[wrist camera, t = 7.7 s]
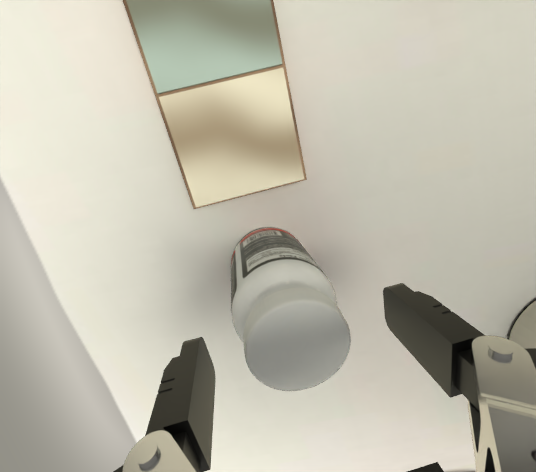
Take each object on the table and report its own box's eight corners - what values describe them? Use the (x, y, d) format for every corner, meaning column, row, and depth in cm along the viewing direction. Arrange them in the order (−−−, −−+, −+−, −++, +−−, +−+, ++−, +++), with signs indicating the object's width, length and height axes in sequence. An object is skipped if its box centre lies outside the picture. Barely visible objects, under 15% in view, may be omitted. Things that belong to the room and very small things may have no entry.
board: (303, 178, 19) (307, 179, 18) (195, 206, 19) (193, 209, 18) (218, -269, 12) (217, -305, 11) (45, -240, 12) (28, -274, 11)
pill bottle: (280, 303, 22) (317, 415, 13) (218, 276, 20) (207, 380, 11) (316, 245, 21) (386, 321, 11) (253, 212, 19) (274, 268, 10)
